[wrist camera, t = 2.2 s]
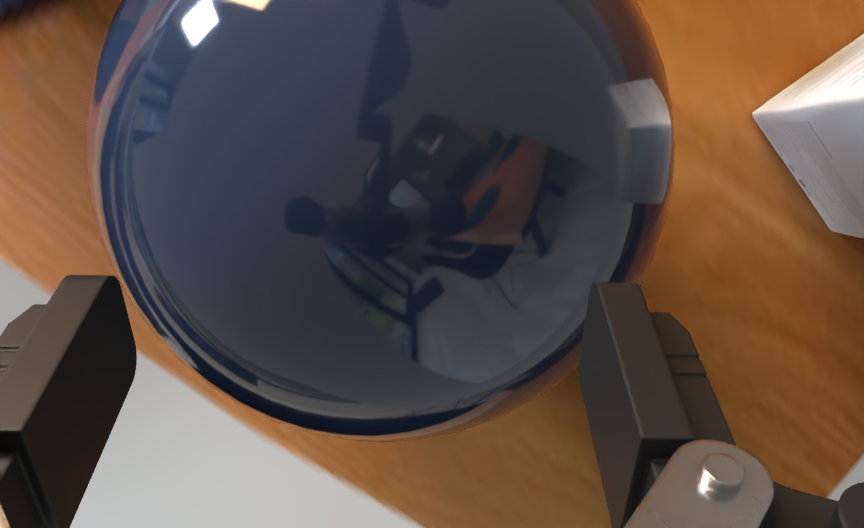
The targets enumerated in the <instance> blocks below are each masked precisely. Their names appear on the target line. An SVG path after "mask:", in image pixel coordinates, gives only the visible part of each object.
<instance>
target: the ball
mask: <svg viewBox="0 0 864 528" xmlns="http://www.w3.org/2000/svg"><path fill="white" fill-rule="evenodd" d="M85 147H86V170H87V179H88V185H89V191H90V197H91V203H92V209H93V213H94V216H95V219H96V223H97V226H98V230H99V233H100V236H101V240H102V243H103V246H104V248H105V251H106V253H107V255H108V257H109V260H110V262H111V264H112V267H113V269H114V271H115V274H116V276H117V278H118V280H119V282H120V283H121V285H122V287H123V288H124V290H125V292H126V294H127V295H128V297H129V299H130V300H131V302H132V304H133V306H134V307H135V309H136V310H137V312H138V313H139V314H140V316H141V317H142V318H143V319H144V321H145V322H146V323H147V325H148V326H149V327H150V329H151V330H152V331H153V333H154V334H155V335H156V337H157V338H158V339H159V340H160V341H161V342H162V343H163V344H164V345H165V346H166V347H167V348H168V349H169V350H170V351H171V352H172V353H173V354H174V355H175V356H176V357H177V358H178V359H179V360H180V361H181V362H182V363H183V364H184V365H185V366H186V367H187V368H189V369H190V370H191V371H192V372H194V373H195V374H196V375H197V376H199V377H200V378H201V379H202V380H204V381H205V382H206V383H207V384H209V385H210V386H211V387H212V388H213V389H215V390H217V391H218V392H220V393H221V394H223V395H225V396H226V397H228V398H229V399H231V400H233V401H234V402H236V403H238V404H239V405H241V406H242V407H244V408H246V409H248V410H250V411H252V412H255V413H257V414H259V415H261V416H263V417H266V418H268V419H270V420H272V421H274V422H276V423H279V424H282V425H285V426H289V427H292V428H295V429H298V430H301V431H304V432H308V433H311V434H315V435H321V436H326V437H332V438H337V439H343V440H351V441H369V442H394V441H407V440H420V439H427V438H432V437H437V436H441V435H446V434H451V433H456V432H461V431H464V430H467V429H470V428H473V427H476V426H479V425H482V424H485V423H487V422H490V421H493V420H496V419H498V418H500V417H502V416H504V415H506V414H508V413H510V412H512V411H514V410H516V409H518V408H520V407H522V406H524V405H526V404H528V403H530V402H532V401H533V400H535V399H536V398H538V397H539V396H541V395H542V394H544V393H545V392H547V391H548V390H550V389H551V388H553V387H554V386H556V385H557V384H559V383H560V382H561V381H562V380H564V379H565V378H566V377H567V376H568V375H569V374H570V373H572V372H573V371H574V370H575V369H576V368H577V367H578V366H579V361H580V349H581V343H582V337H583V330H584V324H585V318H586V312H587V305H588V299H589V293H590V289H591V286H592V284H593V283H594V282H616V283H638V284H639V286H641V284H642V282H643V280H644V278H645V275H646V273H647V271H648V269H649V267H650V265H651V263H652V261H653V258H654V255H655V252H656V249H657V246H658V243H659V240H660V237H661V234H662V231H663V228H664V225H665V223H666V218H667V212H668V207H669V202H670V197H671V192H672V186H673V175H674V157H675V135H674V122H673V109H672V102H671V97H670V92H669V88H668V83H667V78H666V74H665V69H664V65H663V62H662V59H661V57H660V54H659V51H658V48H657V45H656V43H655V40H654V37H653V34H652V31H651V29H650V26H649V24H648V22H647V20H646V19H645V17H644V15H643V13H642V11H641V9H640V7H639V5H638V3H637V1H636V0H122V1H121V3H120V5H119V7H118V9H117V11H116V13H115V15H114V17H113V19H112V21H111V23H110V25H109V27H108V29H107V32H106V35H105V38H104V41H103V44H102V47H101V50H100V53H99V55H98V58H97V61H96V65H95V69H94V74H93V79H92V84H91V88H90V93H89V98H88V107H87V119H86V132H85Z"/></svg>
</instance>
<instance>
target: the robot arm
mask: <svg viewBox="0 0 864 528" xmlns="http://www.w3.org/2000/svg"><path fill="white" fill-rule="evenodd" d="M136 357H137V356H136V346H135V341H134V337H133V333H132V329H131V325H130V322H129V318H128V314H127V310H126V306H125V302H124V298H123V294H122V290H121V286H120V283H119V281H118V280H117V278H116V277H115V276H98V275H68V276H66V277H65V278H64V279H63V280H62V281H61V283H60V284H59V286H58V288H57V289H56V291H55V292H54V294H53V296H52V297H51V299H50V300H49V302H48V304H47V305H33V306H32V307H30V308H29V309H28V310H26V311H25V312H24V313H22V314H21V315H20V316H18V317H17V318H16V319H15V320H13V321H12V322H11V323H10V324H8V326H7V327H6V329H5V330H4V331H3V333H2V334H1V336H0V528H70V525H71V523H72V520H73V518H74V516H75V514H76V511H77V509H78V507H79V504H80V502H81V500H82V498H83V495H84V493H85V491H86V488H87V486H88V484H89V481H90V479H91V477H92V474H93V472H94V470H95V468H96V465H97V463H98V461H99V458H100V456H101V454H102V451H103V449H104V447H105V444H106V442H107V440H108V438H109V435H110V433H111V430H112V428H113V426H114V423H115V421H116V419H117V417H118V414H119V412H120V410H121V407H122V405H123V403H124V401H125V398H126V396H127V394H128V391H129V389H130V387H131V384H132V382H133V379H134V375H135V370H136ZM579 371H580V383H581V389H582V394H583V398H584V403H585V407H586V412H587V416H588V421H589V425H590V430H591V434H592V439H593V443H594V448H595V452H596V457H597V461H598V466H599V470H600V475H601V479H602V484H603V488H604V493H605V497H606V502H607V506H608V511H609V515H610V520H611V524H612V528H864V482H863V483H858V484H855V485H853V486H851V487H849V488H848V489H846V490H845V491H844V492H843V494H842V495H841V497H840V500H839V501H835V500H831V499H827V498H824V497H820V496H816V495H812V494H809V493H805V492H801V491H797V490H794V489H791V488H788V487H785V486H782V485H780V484H778V483H776V482H774V481H772V480H771V477H770V475H769V473H768V472H767V470H766V468H765V467H764V466H763V465H762V464H761V463H760V462H759V461H758V460H757V459H756V458H755V457H754V456H752V455H751V454H749V453H748V452H747V451H745V450H743V449H741V448H739V447H737V446H736V444H735V442H734V439H733V437H732V434H731V432H730V430H729V427H728V425H727V422H726V420H725V418H724V415H723V413H722V410H721V408H720V405H719V403H718V401H717V398H716V396H715V393H714V391H713V388H712V386H711V384H710V381H709V379H708V378H706V371H705V369H704V367H703V364H702V362H701V360H699V354H698V352H697V350H696V347H695V345H694V342H693V340H692V338H691V335H690V333H689V332H688V331H687V330H686V329H685V328H684V327H683V326H682V325H681V324H680V323H679V322H678V321H677V320H676V319H675V318H674V317H673V316H672V315H671V314H670V313H659V312H649V310H648V307H647V304H646V302H645V299H644V296H643V293H642V291H641V288H640V286H639V284H638V283H616V282H594V283H593V284H592V286H591V289H590V293H589V299H588V305H587V312H586V318H585V324H584V330H583V337H582V343H581V349H580V361H579Z"/></svg>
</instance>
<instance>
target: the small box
mask: <svg viewBox="0 0 864 528" xmlns="http://www.w3.org/2000/svg"><path fill="white" fill-rule="evenodd" d="M752 117H753V119H754V120H755V121H756V123H757V124H758V126H759V127H760V129H761V130H762V132H763V133H764V134H765V136H766V137H767V139H768V140H769V141H770V143H771V144H772V146H773V148H774V149H775V150H776V152H777V153H778V155H779V156H780V157H781V159H782V160H783V162H784V163H785V165H786V166H787V167H788V169H789V170H790V172H791V173H792V175H793V176H794V177H795V179H796V180H797V182H798V183H799V185H800V186H801V187H802V189H803V190H804V192H805V193H806V195H807V196H808V198H809V199H810V201H811V202H812V204H813V205H814V207H815V208H816V210H817V211H818V213H819V214H820V216H821V217H822V219H823V220H824V221H825V223H826V224H827V226H828V227H829V229H830V230H831V231H833V232H836V233H841V234H845V235H850V236H854V237H858V238H863V239H864V34H863V35H861V36H860V37H858V38H857V39H855V40H854V41H853V42H851V43H850V44H848V45H847V46H845V47H844V48H843V49H841V50H840V51H838V52H837V53H835V54H834V55H833V56H831V57H830V58H828V59H827V60H825V61H824V62H823V63H821V64H820V65H818V66H817V67H815V68H814V69H813V70H811V71H810V72H808V73H807V74H805V75H804V76H803V77H801V78H800V79H798V80H797V81H795V82H794V83H793V84H791V85H790V86H788V87H787V88H785V89H784V90H783V91H781V92H780V93H778V94H777V95H776V96H774V97H773V98H771V99H770V100H769V101H767V102H766V103H765V104H763V105H762V106H761V107H759V108H758V109H756V110H755V111H754V112H753V113H752Z"/></svg>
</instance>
